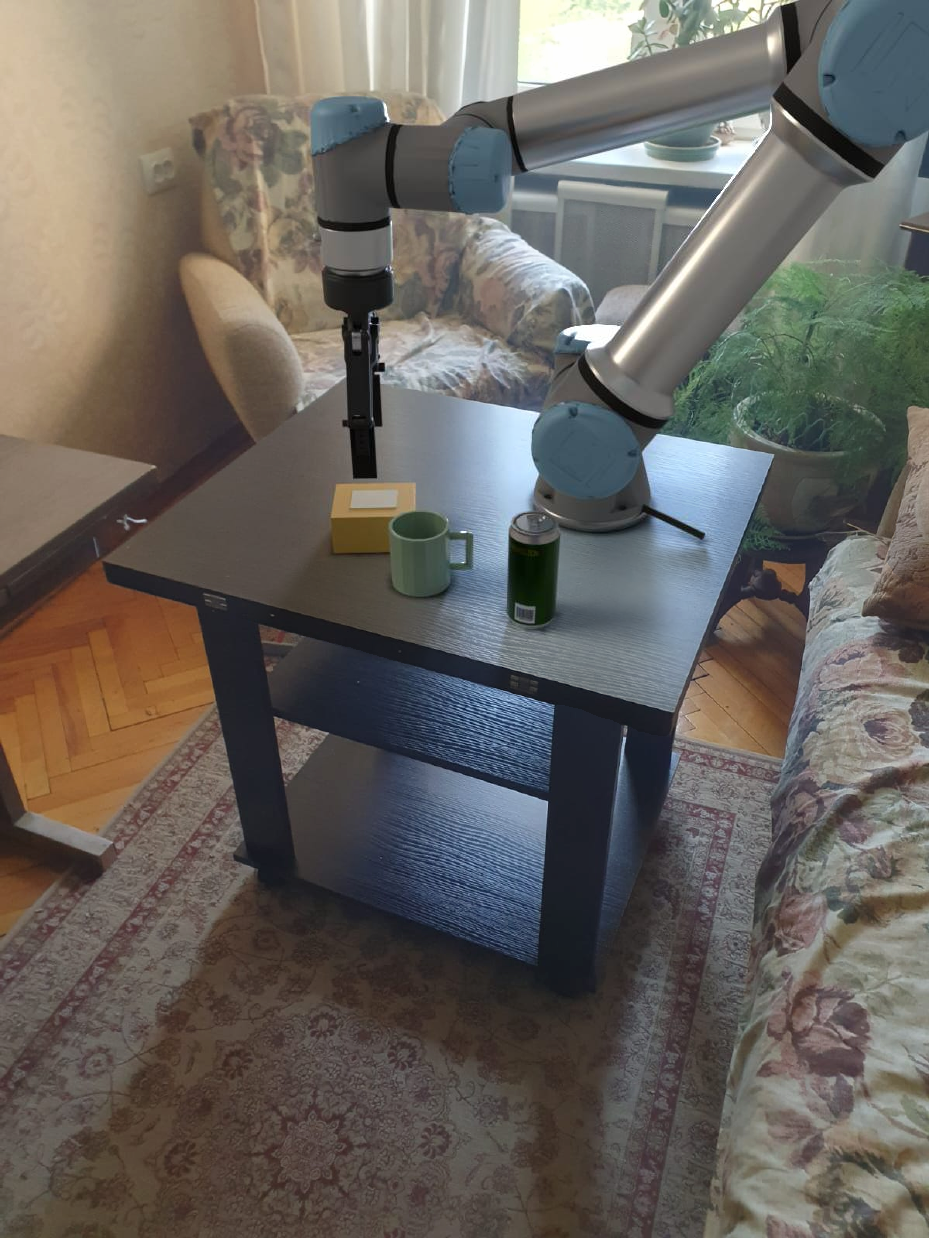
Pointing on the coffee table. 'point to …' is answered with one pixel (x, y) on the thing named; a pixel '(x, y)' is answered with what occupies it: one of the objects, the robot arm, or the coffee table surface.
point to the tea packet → (368, 514)
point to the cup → (424, 552)
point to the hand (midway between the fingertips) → (368, 450)
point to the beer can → (532, 569)
